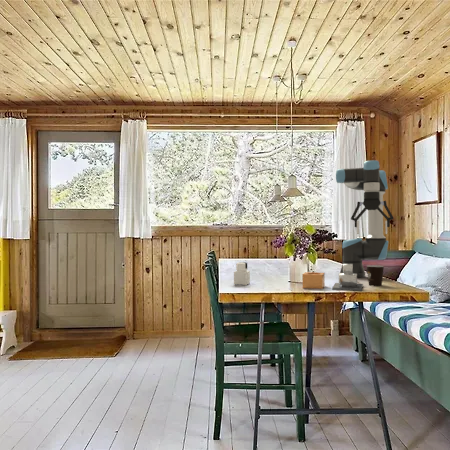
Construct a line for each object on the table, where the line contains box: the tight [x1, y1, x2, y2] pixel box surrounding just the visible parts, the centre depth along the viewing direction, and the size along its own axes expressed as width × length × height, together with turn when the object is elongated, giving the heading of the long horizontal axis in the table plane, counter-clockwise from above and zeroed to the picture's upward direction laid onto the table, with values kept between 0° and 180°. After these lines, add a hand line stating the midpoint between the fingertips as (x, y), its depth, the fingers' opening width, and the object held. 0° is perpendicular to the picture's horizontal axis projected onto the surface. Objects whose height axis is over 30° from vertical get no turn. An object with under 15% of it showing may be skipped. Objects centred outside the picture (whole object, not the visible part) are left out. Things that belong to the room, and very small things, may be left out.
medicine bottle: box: [233, 261, 251, 286], centre depth 239 cm, size 7×7×12 cm
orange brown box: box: [301, 271, 326, 290], centre depth 226 cm, size 10×10×7 cm
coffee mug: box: [365, 264, 385, 287], centre depth 232 cm, size 12×9×10 cm
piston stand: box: [332, 263, 364, 292], centre depth 222 cm, size 18×14×12 cm
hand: (372, 234), depth 219 cm, fingers open, 13 cm apart
